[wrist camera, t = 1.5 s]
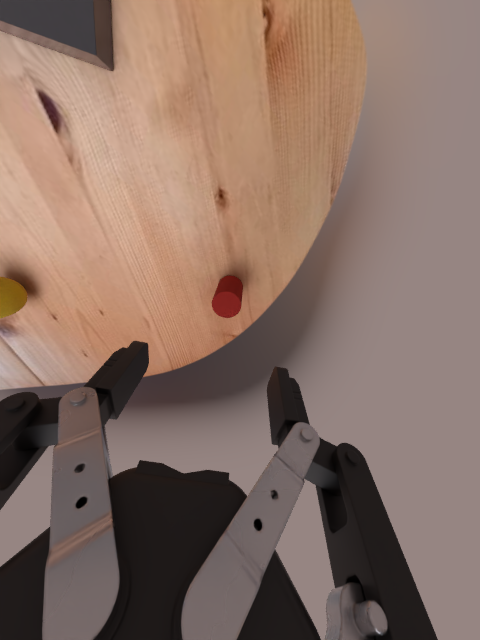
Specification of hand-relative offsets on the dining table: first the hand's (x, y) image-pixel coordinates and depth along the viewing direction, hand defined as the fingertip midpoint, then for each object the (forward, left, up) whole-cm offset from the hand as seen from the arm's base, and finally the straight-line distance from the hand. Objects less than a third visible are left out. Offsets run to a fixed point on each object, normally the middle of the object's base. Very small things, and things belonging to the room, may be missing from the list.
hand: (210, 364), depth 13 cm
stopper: (+2, 0, -19) cm, 19 cm away
